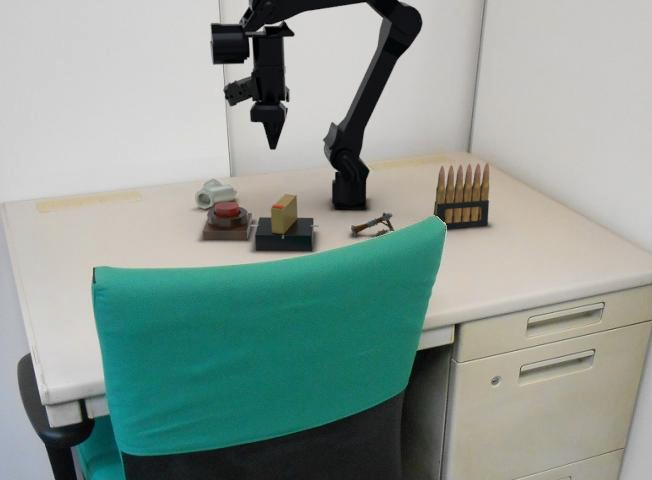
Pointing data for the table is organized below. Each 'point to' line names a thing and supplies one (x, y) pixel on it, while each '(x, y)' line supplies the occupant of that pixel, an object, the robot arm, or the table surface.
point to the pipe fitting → (214, 194)
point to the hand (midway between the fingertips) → (272, 149)
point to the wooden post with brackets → (372, 223)
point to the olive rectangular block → (284, 213)
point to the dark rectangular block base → (285, 236)
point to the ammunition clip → (463, 198)
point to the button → (226, 209)
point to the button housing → (227, 226)
